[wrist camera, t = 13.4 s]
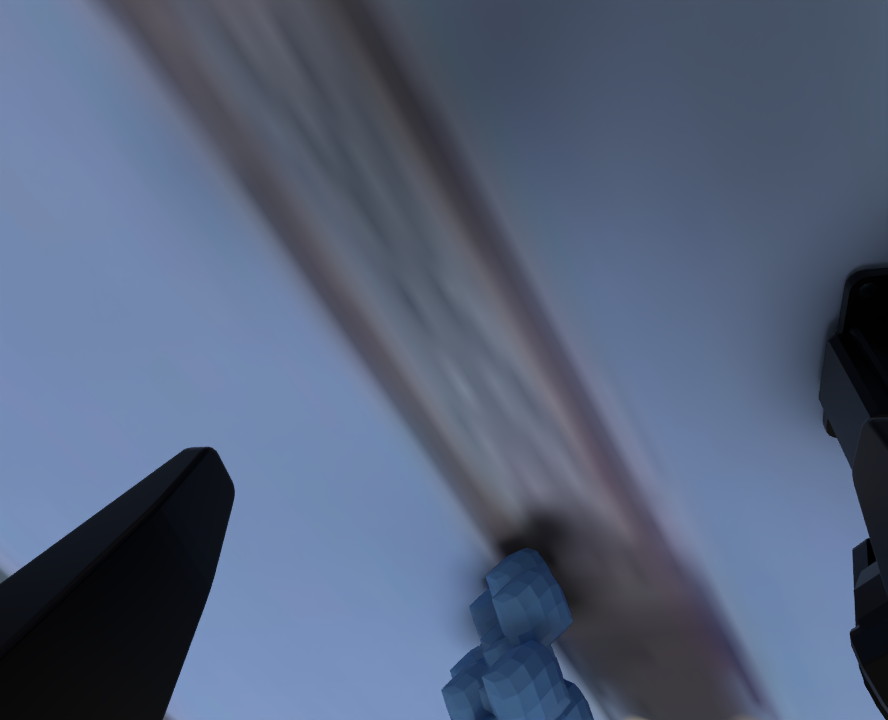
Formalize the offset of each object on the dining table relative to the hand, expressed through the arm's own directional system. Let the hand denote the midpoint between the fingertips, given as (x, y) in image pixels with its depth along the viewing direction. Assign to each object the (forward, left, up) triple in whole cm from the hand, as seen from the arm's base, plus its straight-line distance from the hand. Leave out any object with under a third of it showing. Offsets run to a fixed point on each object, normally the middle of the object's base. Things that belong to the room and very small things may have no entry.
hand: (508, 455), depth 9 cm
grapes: (+3, +21, -13) cm, 25 cm away
